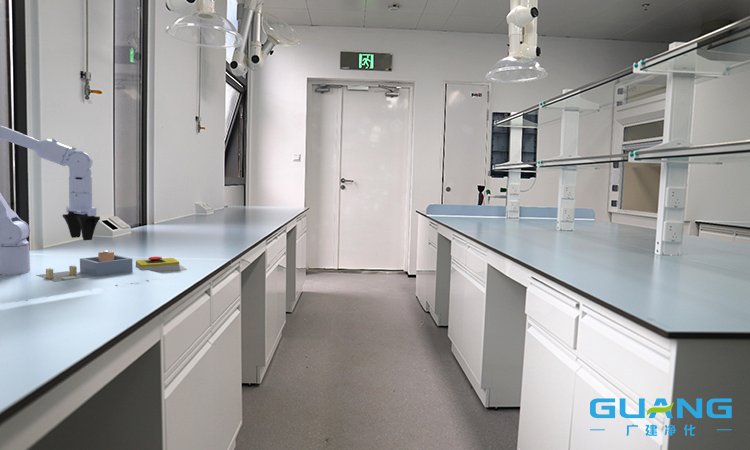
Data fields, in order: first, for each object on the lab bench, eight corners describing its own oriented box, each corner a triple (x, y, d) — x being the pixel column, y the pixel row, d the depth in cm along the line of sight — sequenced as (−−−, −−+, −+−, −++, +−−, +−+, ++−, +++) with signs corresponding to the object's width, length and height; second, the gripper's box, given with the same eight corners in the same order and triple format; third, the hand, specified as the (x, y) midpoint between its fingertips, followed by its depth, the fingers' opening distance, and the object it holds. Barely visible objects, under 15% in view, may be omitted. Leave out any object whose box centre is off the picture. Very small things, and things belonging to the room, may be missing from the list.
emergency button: (129, 256, 148) (179, 253, 157) (130, 270, 149) (179, 266, 157) (135, 261, 141) (187, 257, 150) (135, 275, 141) (187, 271, 150)
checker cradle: (35, 279, 130) (35, 266, 130) (67, 275, 137) (67, 262, 136) (55, 286, 123) (54, 272, 123) (87, 281, 130) (87, 268, 130)
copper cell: (95, 272, 137) (95, 250, 137) (110, 270, 141) (109, 249, 140) (102, 274, 135) (102, 252, 134) (116, 272, 138) (116, 251, 138)
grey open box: (80, 275, 137) (79, 258, 136) (115, 270, 145) (114, 254, 144) (97, 280, 131) (96, 263, 131) (132, 275, 139) (132, 258, 139)
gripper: (107, 193, 137) (107, 240, 138) (83, 191, 145) (84, 235, 147) (80, 193, 131) (81, 242, 133) (58, 191, 140) (59, 237, 141)
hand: (81, 238), depth 139 cm, fingers open, 7 cm apart
